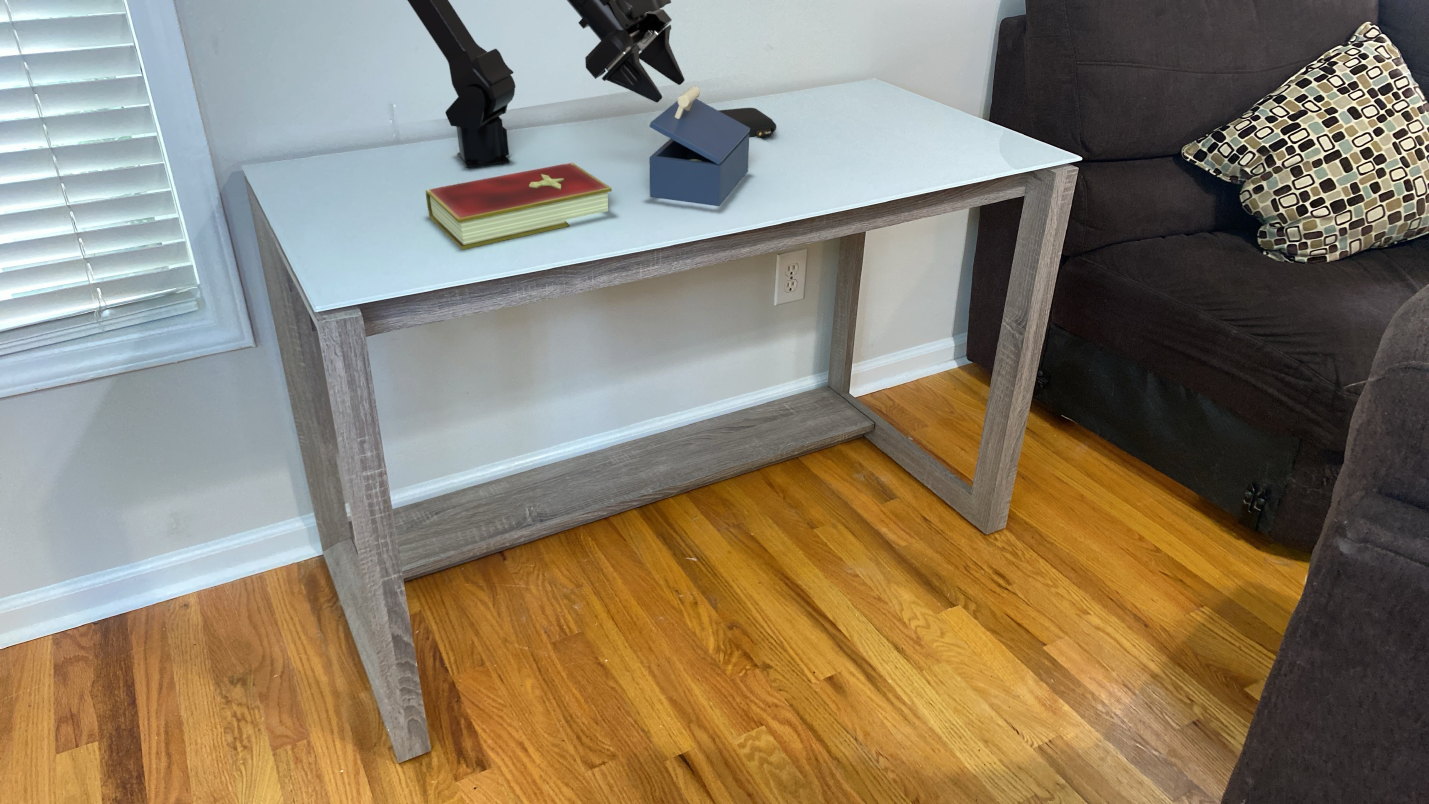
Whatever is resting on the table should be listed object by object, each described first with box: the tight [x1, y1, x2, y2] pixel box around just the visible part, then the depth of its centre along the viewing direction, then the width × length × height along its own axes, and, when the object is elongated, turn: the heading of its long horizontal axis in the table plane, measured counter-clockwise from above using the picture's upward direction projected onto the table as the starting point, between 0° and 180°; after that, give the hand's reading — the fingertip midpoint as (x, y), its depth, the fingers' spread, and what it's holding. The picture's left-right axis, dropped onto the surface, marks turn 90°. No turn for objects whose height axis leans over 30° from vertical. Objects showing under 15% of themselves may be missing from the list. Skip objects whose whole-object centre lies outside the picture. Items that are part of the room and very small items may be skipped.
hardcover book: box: [425, 162, 612, 250], centre depth 127 cm, size 12×21×4 cm, turn 123°
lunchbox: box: [649, 134, 750, 207], centre depth 137 cm, size 10×15×6 cm
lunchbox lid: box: [649, 85, 750, 165], centre depth 132 cm, size 11×15×4 cm
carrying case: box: [717, 107, 777, 139], centre depth 158 cm, size 11×3×15 cm
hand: (671, 91), depth 132 cm, fingers open, 9 cm apart
